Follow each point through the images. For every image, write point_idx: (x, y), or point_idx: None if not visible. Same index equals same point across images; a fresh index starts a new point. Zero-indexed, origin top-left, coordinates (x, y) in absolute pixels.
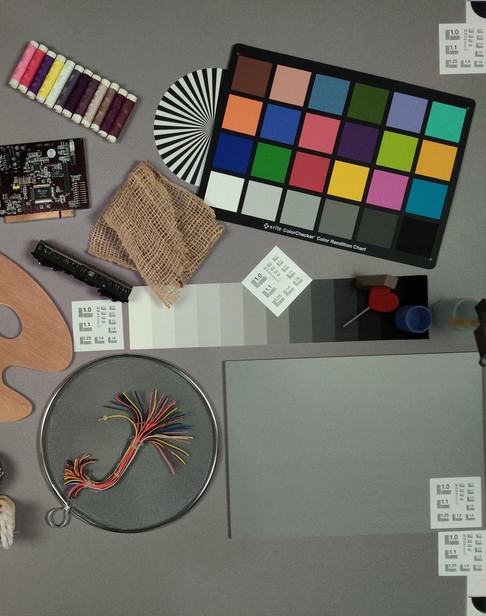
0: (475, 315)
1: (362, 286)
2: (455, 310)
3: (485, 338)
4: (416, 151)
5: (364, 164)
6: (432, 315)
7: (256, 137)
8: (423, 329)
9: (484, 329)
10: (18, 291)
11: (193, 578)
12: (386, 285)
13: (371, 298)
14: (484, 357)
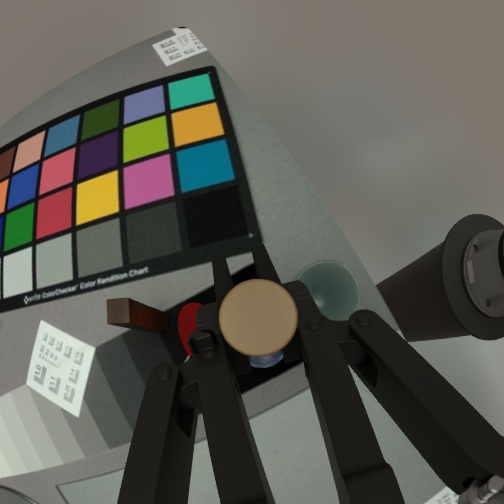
0: (344, 287)
1: (145, 330)
2: (320, 293)
3: (126, 465)
4: (168, 126)
5: (110, 169)
6: None
7: (5, 211)
8: (281, 354)
9: (148, 403)
10: None
11: None
12: (112, 322)
13: (183, 339)
14: None
